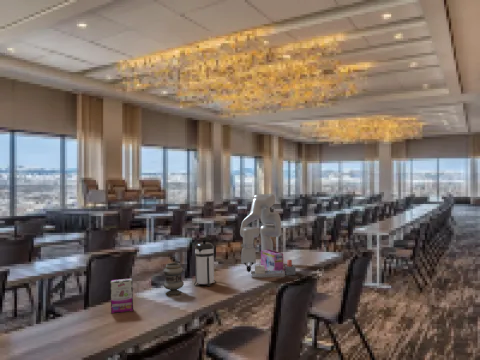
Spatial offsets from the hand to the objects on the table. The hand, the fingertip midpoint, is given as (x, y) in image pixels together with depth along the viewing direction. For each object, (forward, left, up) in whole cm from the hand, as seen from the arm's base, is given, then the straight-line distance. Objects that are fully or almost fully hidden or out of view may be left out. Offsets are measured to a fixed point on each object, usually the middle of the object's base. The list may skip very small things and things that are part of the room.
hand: (248, 271), depth 282 cm
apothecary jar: (+40, -48, -3) cm, 63 cm away
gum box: (-20, +19, -3) cm, 28 cm away
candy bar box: (+71, -71, -3) cm, 101 cm away
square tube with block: (-5, +30, -3) cm, 31 cm away
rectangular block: (0, +14, -3) cm, 14 cm away
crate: (0, +8, -3) cm, 8 cm away
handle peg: (-3, +30, -3) cm, 30 cm away
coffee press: (+19, -30, -3) cm, 36 cm away
